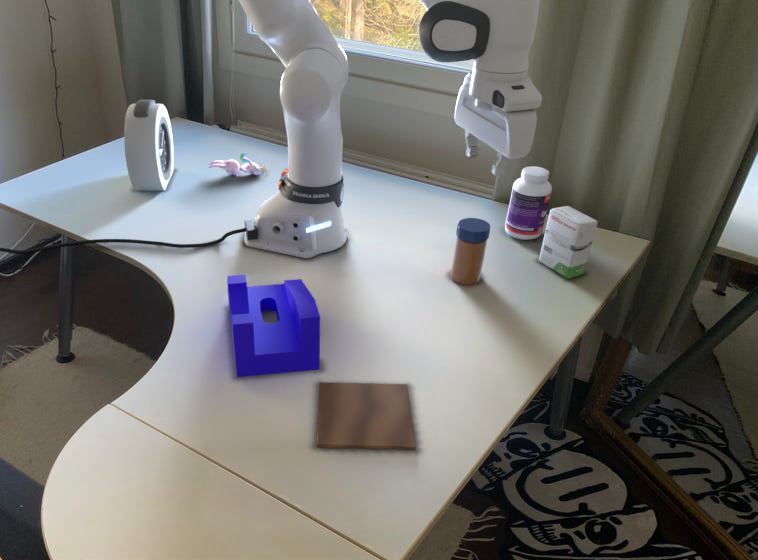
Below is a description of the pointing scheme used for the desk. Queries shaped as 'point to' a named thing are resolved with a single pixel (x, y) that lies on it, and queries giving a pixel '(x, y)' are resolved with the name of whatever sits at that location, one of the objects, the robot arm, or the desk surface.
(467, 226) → the lid
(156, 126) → the alarm clock
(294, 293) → the bracket
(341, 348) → the desk surface
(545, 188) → the pill bottle
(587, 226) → the ink box
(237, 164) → the rabbit figure
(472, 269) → the jar
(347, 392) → the coaster
